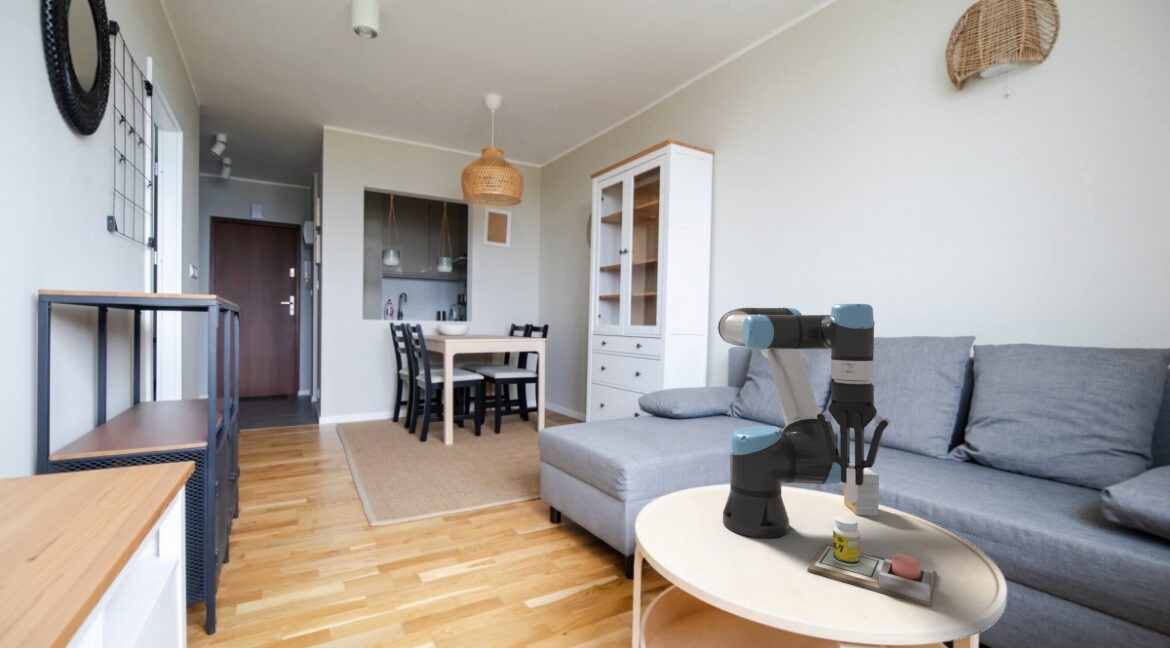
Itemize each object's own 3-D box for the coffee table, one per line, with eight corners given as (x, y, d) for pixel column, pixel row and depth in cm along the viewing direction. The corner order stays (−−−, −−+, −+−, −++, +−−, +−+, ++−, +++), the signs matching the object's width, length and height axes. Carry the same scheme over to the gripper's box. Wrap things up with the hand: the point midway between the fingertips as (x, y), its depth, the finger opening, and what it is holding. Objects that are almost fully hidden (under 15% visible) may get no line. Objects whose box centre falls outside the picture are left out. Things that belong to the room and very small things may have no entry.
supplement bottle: (828, 556, 104) (828, 515, 104) (850, 555, 104) (850, 514, 104) (842, 567, 99) (842, 524, 99) (864, 566, 99) (865, 523, 99)
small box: (843, 504, 136) (843, 465, 136) (865, 505, 135) (866, 465, 135) (855, 515, 128) (855, 473, 128) (879, 516, 127) (879, 474, 127)
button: (890, 577, 92) (890, 560, 92) (893, 567, 96) (893, 552, 96) (919, 584, 89) (919, 567, 89) (921, 575, 93) (921, 558, 93)
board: (807, 571, 99) (807, 555, 99) (825, 546, 110) (825, 531, 110) (930, 607, 87) (930, 588, 87) (936, 575, 98) (936, 558, 98)
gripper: (812, 380, 102) (812, 498, 102) (886, 385, 94) (887, 513, 94) (821, 377, 108) (821, 488, 108) (892, 382, 100) (893, 502, 99)
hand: (852, 500), depth 101 cm, fingers closed
